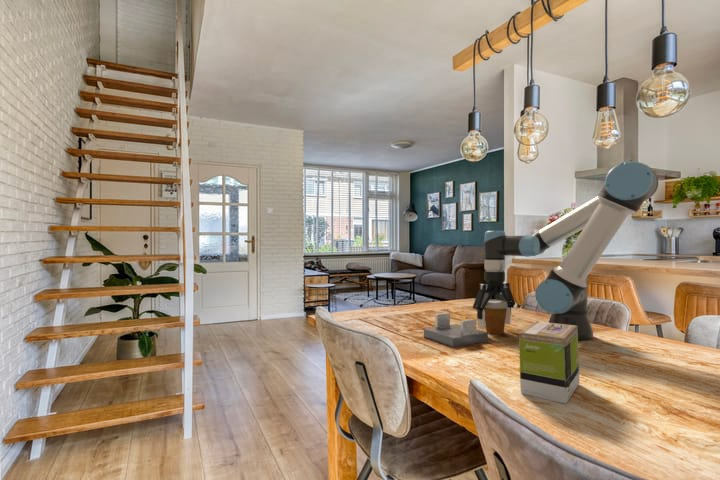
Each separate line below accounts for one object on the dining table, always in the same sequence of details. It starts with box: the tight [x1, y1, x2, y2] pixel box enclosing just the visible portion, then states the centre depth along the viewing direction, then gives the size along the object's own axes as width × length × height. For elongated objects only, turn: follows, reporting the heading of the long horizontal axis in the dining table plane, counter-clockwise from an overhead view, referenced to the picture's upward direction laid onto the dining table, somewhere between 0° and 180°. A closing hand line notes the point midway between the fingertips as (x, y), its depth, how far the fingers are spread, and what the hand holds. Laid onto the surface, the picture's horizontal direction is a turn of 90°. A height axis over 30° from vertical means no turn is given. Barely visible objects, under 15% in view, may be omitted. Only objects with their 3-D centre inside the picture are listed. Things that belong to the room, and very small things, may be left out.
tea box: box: [518, 320, 580, 405], centre depth 93 cm, size 15×10×15 cm, turn 141°
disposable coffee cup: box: [483, 299, 508, 335], centre depth 149 cm, size 10×10×12 cm
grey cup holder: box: [423, 312, 489, 348], centre depth 140 cm, size 16×16×8 cm
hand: (494, 325), depth 149 cm, fingers open, 13 cm apart
